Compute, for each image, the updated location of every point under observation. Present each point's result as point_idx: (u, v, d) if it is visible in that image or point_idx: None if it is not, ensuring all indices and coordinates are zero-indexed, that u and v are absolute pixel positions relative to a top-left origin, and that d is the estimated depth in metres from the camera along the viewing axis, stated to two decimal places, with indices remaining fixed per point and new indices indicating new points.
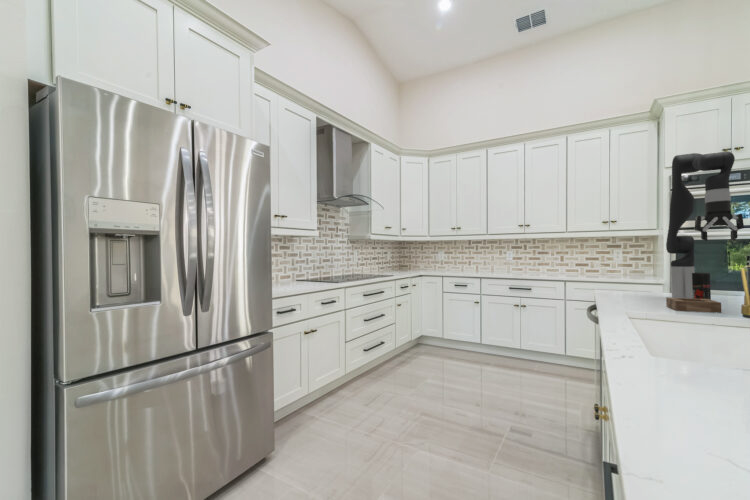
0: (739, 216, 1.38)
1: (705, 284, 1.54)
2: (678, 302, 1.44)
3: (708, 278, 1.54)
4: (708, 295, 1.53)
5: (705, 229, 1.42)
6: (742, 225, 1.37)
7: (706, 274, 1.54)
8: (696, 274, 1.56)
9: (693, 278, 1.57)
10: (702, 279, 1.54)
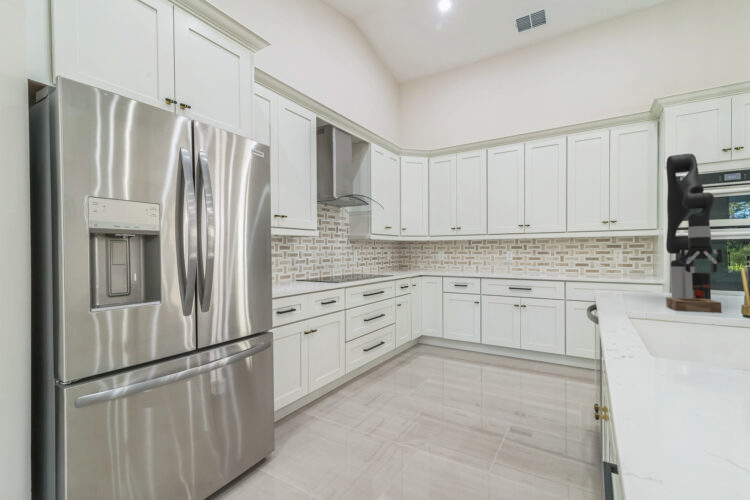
0: (718, 251, 1.53)
1: (705, 284, 1.54)
2: (678, 302, 1.44)
3: (708, 278, 1.54)
4: (708, 295, 1.53)
5: (688, 262, 1.58)
6: (721, 259, 1.52)
7: (706, 274, 1.54)
8: (696, 274, 1.56)
9: (693, 278, 1.57)
10: (702, 279, 1.54)
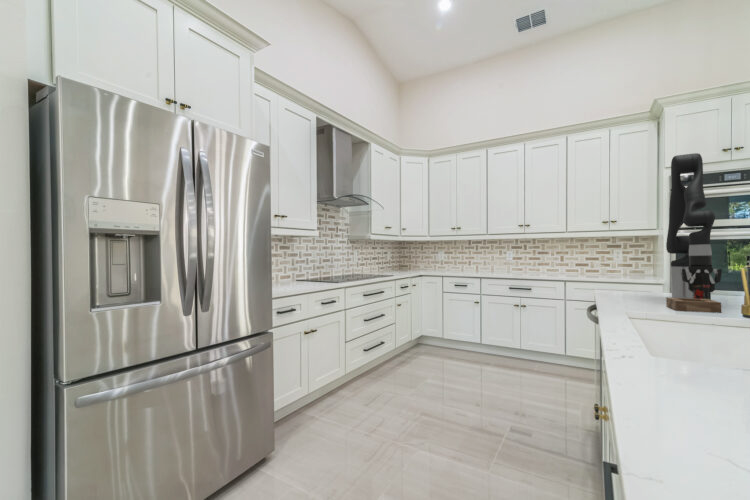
0: (719, 271, 1.53)
1: (705, 284, 1.54)
2: (678, 302, 1.44)
3: (708, 278, 1.54)
4: (708, 295, 1.53)
5: (692, 281, 1.57)
6: (719, 279, 1.53)
7: (706, 274, 1.54)
8: (696, 274, 1.56)
9: None
10: (702, 279, 1.54)
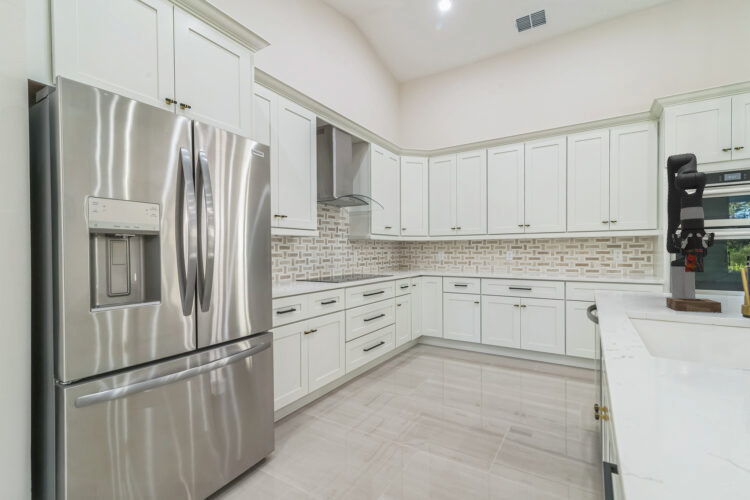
0: (711, 234, 1.46)
1: (697, 248, 1.47)
2: (678, 302, 1.44)
3: (701, 242, 1.47)
4: (701, 260, 1.47)
5: (684, 246, 1.50)
6: (712, 243, 1.46)
7: (698, 238, 1.47)
8: (688, 238, 1.49)
9: None
10: (694, 243, 1.47)
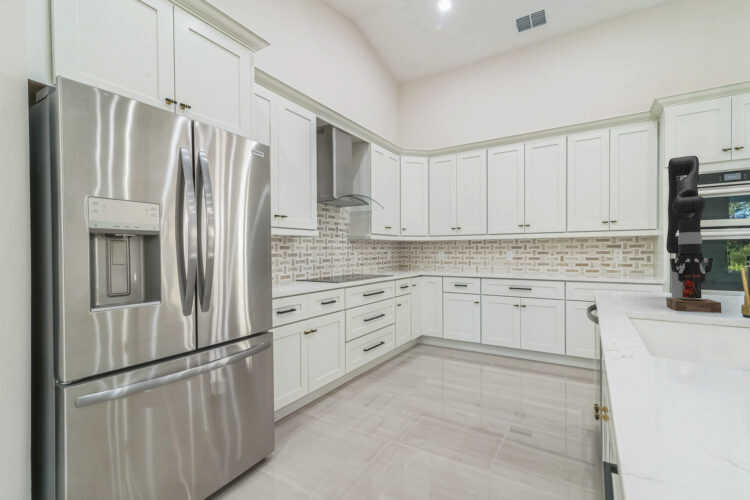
0: (709, 260, 1.45)
1: (695, 274, 1.45)
2: (678, 302, 1.44)
3: (698, 267, 1.45)
4: (698, 285, 1.45)
5: (681, 271, 1.49)
6: (710, 269, 1.44)
7: (696, 263, 1.45)
8: (686, 263, 1.47)
9: None
10: (692, 269, 1.46)
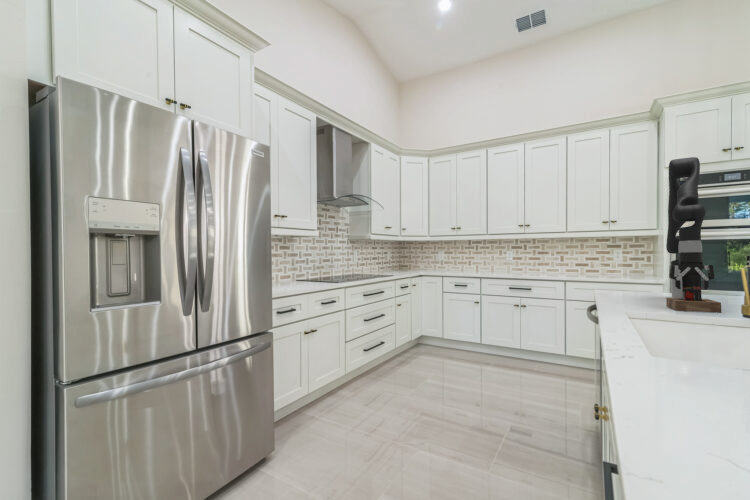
0: (710, 267, 1.44)
1: (695, 286, 1.45)
2: (678, 302, 1.44)
3: (699, 279, 1.45)
4: (699, 297, 1.45)
5: (678, 278, 1.49)
6: (713, 276, 1.44)
7: (696, 275, 1.45)
8: (686, 275, 1.47)
9: (683, 279, 1.49)
10: (692, 280, 1.46)
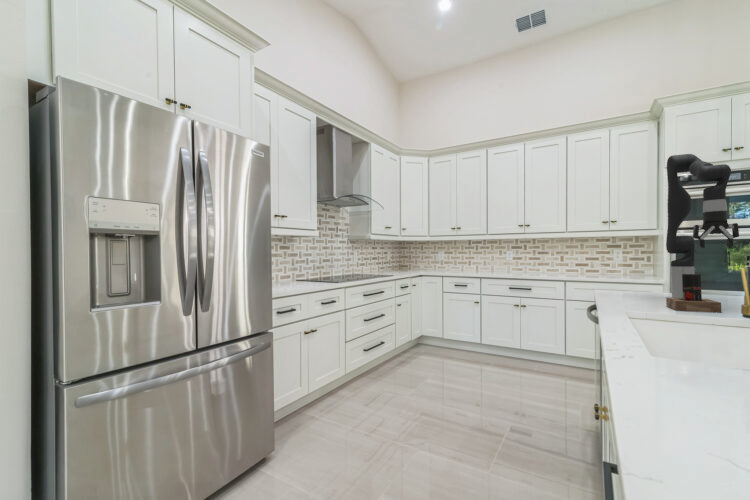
0: (735, 225, 1.47)
1: (696, 286, 1.45)
2: (678, 302, 1.44)
3: (699, 280, 1.45)
4: (699, 298, 1.45)
5: (702, 237, 1.52)
6: (737, 234, 1.46)
7: (697, 275, 1.45)
8: (686, 275, 1.47)
9: (683, 279, 1.49)
10: (692, 281, 1.46)
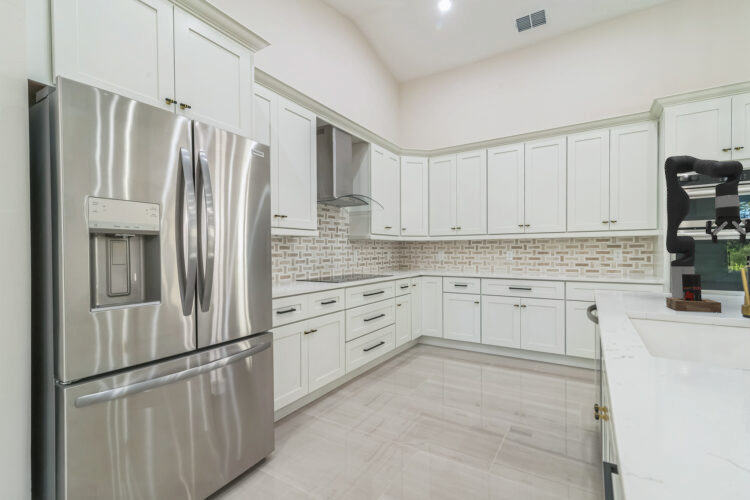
0: (747, 221, 1.47)
1: (695, 286, 1.45)
2: (678, 302, 1.44)
3: (699, 279, 1.45)
4: (699, 297, 1.45)
5: (715, 233, 1.52)
6: None
7: (696, 275, 1.45)
8: (686, 275, 1.47)
9: (683, 279, 1.49)
10: (692, 280, 1.46)
